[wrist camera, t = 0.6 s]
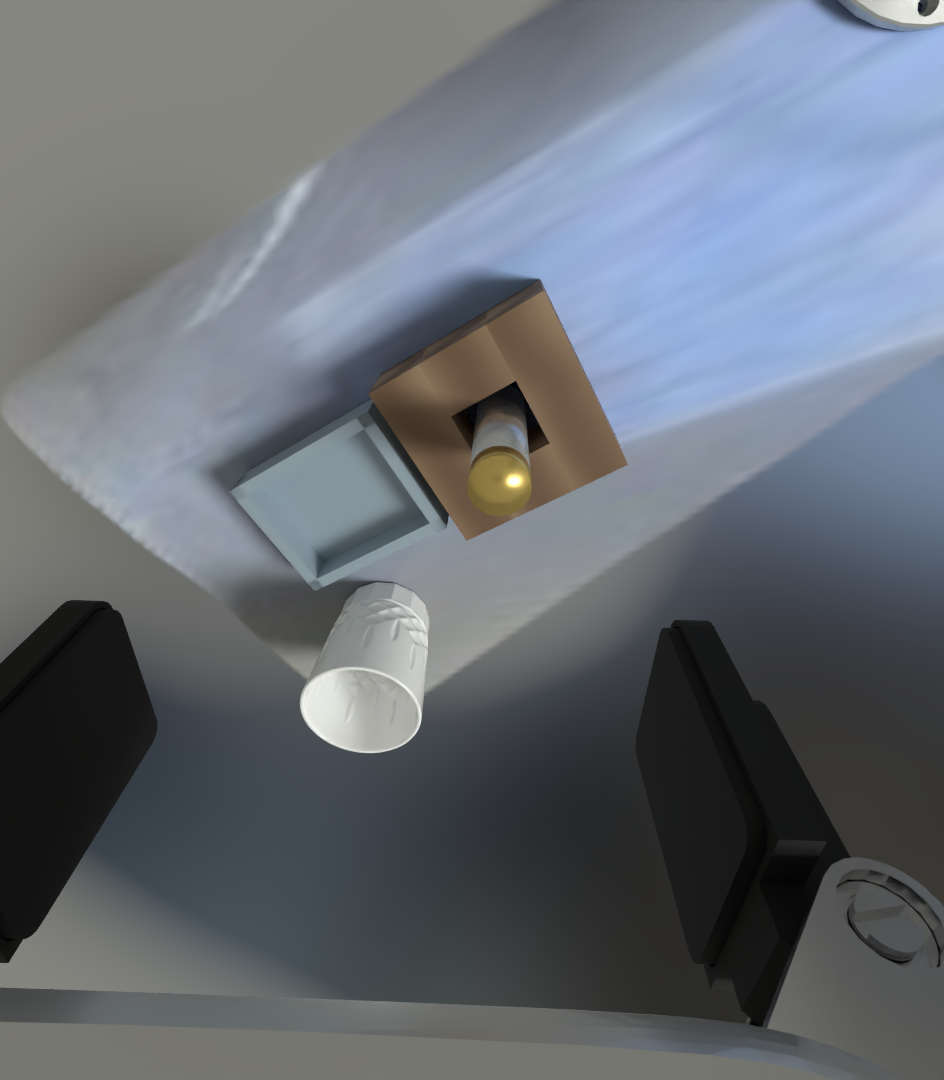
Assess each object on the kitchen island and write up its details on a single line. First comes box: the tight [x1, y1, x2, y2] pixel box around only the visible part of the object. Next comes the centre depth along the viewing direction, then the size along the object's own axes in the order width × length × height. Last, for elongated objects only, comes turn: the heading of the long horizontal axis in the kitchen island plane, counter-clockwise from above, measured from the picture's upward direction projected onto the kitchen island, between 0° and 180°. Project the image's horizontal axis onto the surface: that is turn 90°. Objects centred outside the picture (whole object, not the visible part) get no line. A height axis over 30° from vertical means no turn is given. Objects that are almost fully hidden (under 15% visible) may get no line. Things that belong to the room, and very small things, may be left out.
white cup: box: [300, 582, 429, 753], centre depth 43 cm, size 8×8×10 cm
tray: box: [229, 399, 449, 591], centre depth 40 cm, size 11×9×3 cm
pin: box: [468, 385, 532, 516], centre depth 33 cm, size 3×3×12 cm
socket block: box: [368, 279, 628, 540], centre depth 36 cm, size 11×11×4 cm
